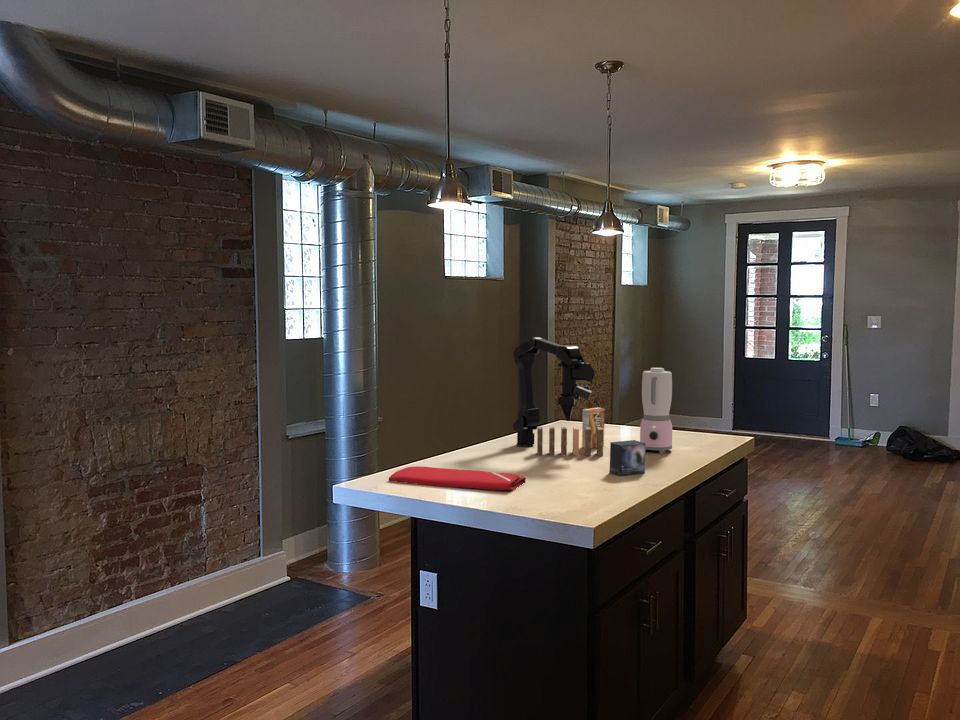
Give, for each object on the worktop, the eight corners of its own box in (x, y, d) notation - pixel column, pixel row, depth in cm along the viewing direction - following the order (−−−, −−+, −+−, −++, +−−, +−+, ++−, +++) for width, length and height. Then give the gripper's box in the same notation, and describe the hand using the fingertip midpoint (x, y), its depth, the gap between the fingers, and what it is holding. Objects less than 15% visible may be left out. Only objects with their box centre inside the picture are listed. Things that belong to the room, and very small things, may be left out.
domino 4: (577, 453, 300) (577, 427, 300) (578, 455, 295) (579, 429, 294) (572, 453, 300) (573, 426, 300) (573, 455, 295) (574, 429, 294)
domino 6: (598, 456, 294) (598, 429, 294) (596, 453, 300) (596, 427, 299) (602, 456, 294) (603, 429, 293) (601, 453, 300) (601, 427, 299)
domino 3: (561, 455, 295) (562, 429, 294) (561, 452, 301) (561, 426, 300) (566, 455, 295) (566, 429, 294) (565, 452, 300) (566, 426, 300)
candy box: (596, 445, 317) (597, 407, 316) (604, 446, 314) (605, 408, 313) (581, 447, 312) (581, 409, 311) (589, 449, 309) (589, 410, 307)
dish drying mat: (410, 473, 266) (410, 462, 265) (526, 484, 250) (526, 472, 250) (388, 483, 251) (388, 471, 251) (509, 495, 236) (509, 482, 236)
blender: (643, 446, 313) (644, 366, 311) (674, 449, 309) (675, 367, 307) (635, 453, 299) (636, 369, 297) (668, 456, 294) (669, 370, 292)
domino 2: (549, 455, 295) (549, 429, 294) (549, 452, 301) (549, 426, 300) (554, 455, 295) (554, 429, 294) (553, 452, 301) (554, 426, 300)
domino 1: (537, 455, 295) (537, 428, 295) (537, 452, 301) (537, 426, 300) (542, 455, 295) (542, 428, 295) (542, 452, 301) (542, 426, 300)
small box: (620, 476, 260) (621, 445, 259) (608, 472, 265) (609, 441, 265) (646, 473, 264) (646, 442, 264) (633, 469, 270) (634, 439, 269)
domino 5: (585, 455, 294) (586, 429, 294) (584, 453, 300) (585, 427, 299) (590, 456, 294) (591, 429, 294) (589, 453, 300) (589, 427, 299)
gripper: (588, 382, 285) (587, 425, 286) (593, 377, 303) (592, 418, 304) (557, 381, 287) (556, 424, 289) (564, 376, 305) (563, 416, 307)
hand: (568, 420), depth 297 cm, fingers closed
